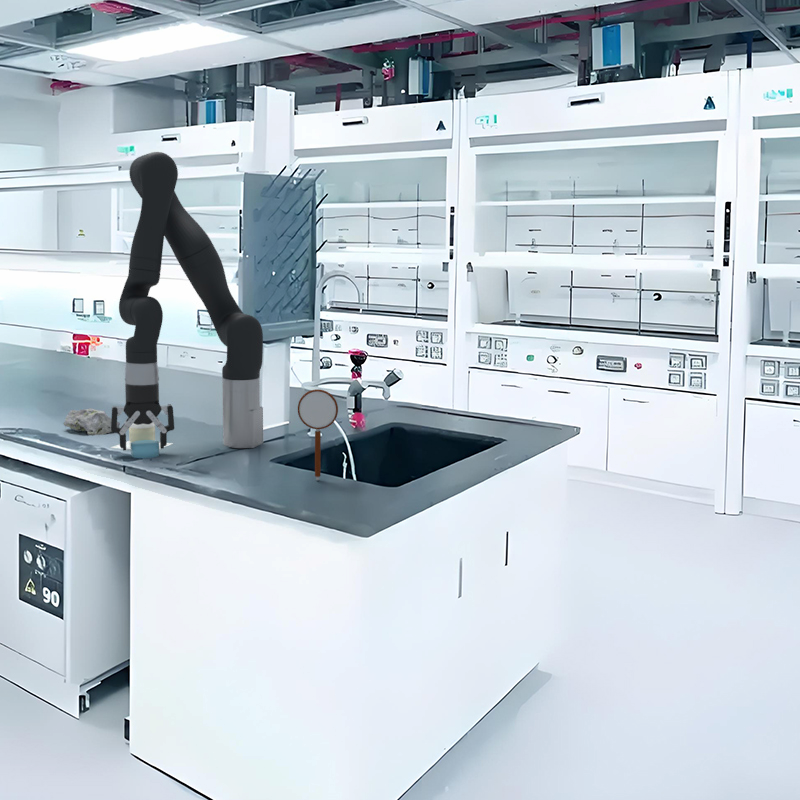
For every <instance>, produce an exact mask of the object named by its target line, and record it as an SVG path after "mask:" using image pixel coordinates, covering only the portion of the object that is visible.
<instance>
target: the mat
mask: <svg viewBox="0 0 800 800" xmlns="http://www.w3.org/2000/svg"><path fill="white" fill-rule="evenodd" d="M158 442H159V450H162V449H161V448H160V441H158ZM171 445H174V443H173V442H167V445H166V446H164V448H166V447H169V446H171ZM110 449H119V450H123V448H121V447H120V443H119V444H117V445H113V446H111V447H110ZM126 450H128V451H129V450H130V451H131V448H130V441H129V440H126Z"/></svg>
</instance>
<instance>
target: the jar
mask: <svg viewBox="0 0 800 800" xmlns="http://www.w3.org/2000/svg"><path fill="white" fill-rule="evenodd" d="M128 437H129V440H128V441H130V448H131V443H132V442H134V441H140V440H155V441H156V425H155V424H154V423H153V422H152V423H151V424H140V425H136V424H134V423H133V424H132V425H131V427H130V428H129V429H128Z"/></svg>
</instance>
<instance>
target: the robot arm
mask: <svg viewBox="0 0 800 800" xmlns="http://www.w3.org/2000/svg"><path fill="white" fill-rule="evenodd" d="M178 170H179V169H178V166H177V164H176V162H175V160H174V159H173V158H172V157H171V156H170V155H168V154H167V153H164V152H161V151H153V152H150V153H146V154H144V155H141V156H138V157H136V158H135V159H134V160H133V161H132V162H131V165H130V167H129V179H130V183H131V185H132V187H133V188H134V189H135V191H136V192H137V193H138V195H139V197H140V198H141V208H140V214H139V218H138V221H137V225H136V229H135V232H134V236H133V239H132V243H131V248H130V254H129V263H128V276H127V279H126V280H125V283H124V285H123V289H122V291H121V294H120V298H119V302H118V312H119V316H120V318H121V320H122V321H123V322H124V323H126V324H127V325H130V326H135V327H134V334H133V336H131V337H129V338H128V339H126V341H125V369H124V385H125V387H124V388H125V389H124V390H125V405H124V406H117V405H113V406H112V407H111V416H110V418H111V431H112V432H111V433H115V434H118V435H119V444H120V447H121V448H123V449H122V450H123V451H127V449H126V442H127V434H126V432H127V431H129V428H130V427H131V425H132V424H133V423H134V424H136V425H140V424H151V423H152V422H153V423H154V424H155V427H157V428H158V429H159V442H160V448H161V449H160V450H163V449H165V447H164V446H166V445H167V443H168V441H167V439H168V437H167V436H168V435H167V433H169V432H171V431H174V430H175V418H174V407H173V405H172V404H170V403H168V404H167V405H161V404H160V390H159V389H160V388H159V387H160V386H159V381H160V376H159V374H160V373H159V367H158V341H159V338H160V335H161V329H162V326H163V320H164V319H163V318H164V316H163V314H164V313H163V308H162V305H161V303H160V302H159V301H158V300H157V298H155V297H153V296H150V295H149V294H150V290H151V288H152V287H154V286H157V285H158V284H159V283H160V282H159V281H160V279H161V278H160V277H161V269H162V260H163V259H162V258H163V249H164V242H165V241H164V240H166V241H167V243H168V245H169V246H170V248H171V251H172V253H173V254H174V257H175V258H176V261H177V262H178V263H179V265H180V267H181V269H182V271H183V272H184V274H185V276H186V277H187V279H188V281H189V283H190V284H191V286H192V288H193V289H194V291H195V293H196V294H197V296H198V297H199V299H200V300H201V301H202V303H203V305H204V307H205V309H206V311H207V313H208V315H209V319H211V322H212V325H213V327H214V329H215V332H216V334H217V337H218V338H219V340H220V342H221V343H222V344H223V345H224V346H225V347H226V361H225V364H224V365H223V367H222V369H221V370H222V371H221V372H222V373H221V375H222V380H221V381H222V383H221V384H222V385H221V386H222V428H223V429H222V433H223V435H222V438H223V441H222V442H223V445H224V446H225V447H229V448H232V449H248V448H249V449H255V448H257V447H258V446H261V445H262V444H264V407H263V406H261V401H260V400H261V399H260V398H261V395H260V394H261V392H260V391H261V385H260V382H261V381H260V380H261V379H260V375H261V374H260V373H261V372H260V371H261V369H262V365H263V356H264V355H263V353H264V335H263V328H262V325H261V323H260V321H259V320H258V319H257V318H256V317H255V316H252V315H250V314H247V313H244V312H243V311H242V309H241V308H240V307H239V305H238V303H237V301H236V300H235V299H234V297H233V295H232V292H231V290H230V289H229V285H228V282H227V281H228V280H227V277H226V272H225V269H224V265H223V262H222V260H221V258H220V255H219V253H218V251H217V249H216V248H215V245H214V244H213V242H212V240H211V239H210V236H209V235H208V234H207V232H206V231H205V230H204V228H203V227H202V226H201V225H200V224H199V223H198V222H197V221H196V220H195V219H194V217H192V216H191V215H190V213H189V212H188V211H187V210H186V209H185V207H184V206H183V204H182V203H181V201H180V200H179V197H178V195H177V193H176V191H175V189H176V186H177V181H178V177H179V172H178ZM123 412H124V414H125V416H127V418H126V420H124V422H123V424H122V425H121V426H119V427H117V422H118V417H120V416H121V415H122V413H123ZM161 412H163V413H164V415H167V424H166V425H164V424H163V423H162V421H160V419H159V418H158V416H159V415H160V414H161ZM166 447H167V446H166Z"/></svg>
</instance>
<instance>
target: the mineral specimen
mask: <svg viewBox="0 0 800 800" xmlns="http://www.w3.org/2000/svg"><path fill="white" fill-rule="evenodd" d="M64 419H65V420H64V423H63V426H64V427H69V428H70V429H71V430H75V431H77V432H87V435H88V436H100V435H106V434H109V433H113V432H112V431H111V416H110V417H109V415H108V414H107V413H106V412H105V411H104V410H97V409H94V408H91V407H90V408H87V409H79V410H75V409H72V410H70V411H69V412H67V415H66V417H65V418H64ZM120 425H121V423H120V422H119V421H117V427H119V428H120ZM80 430H81V431H80Z"/></svg>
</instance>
